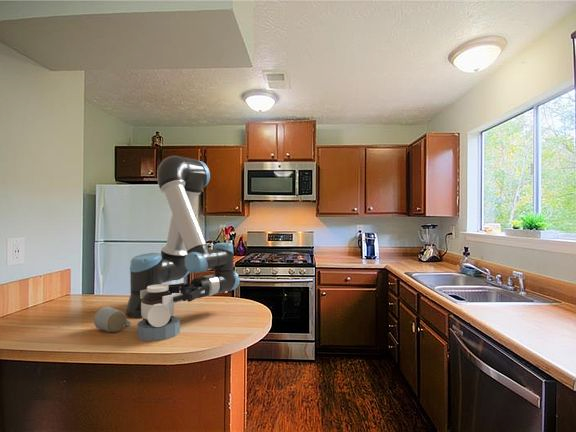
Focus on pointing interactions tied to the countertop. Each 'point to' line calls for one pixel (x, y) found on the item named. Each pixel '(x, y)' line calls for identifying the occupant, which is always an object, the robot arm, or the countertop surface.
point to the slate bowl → (158, 330)
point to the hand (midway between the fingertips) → (151, 297)
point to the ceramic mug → (110, 319)
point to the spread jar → (156, 305)
